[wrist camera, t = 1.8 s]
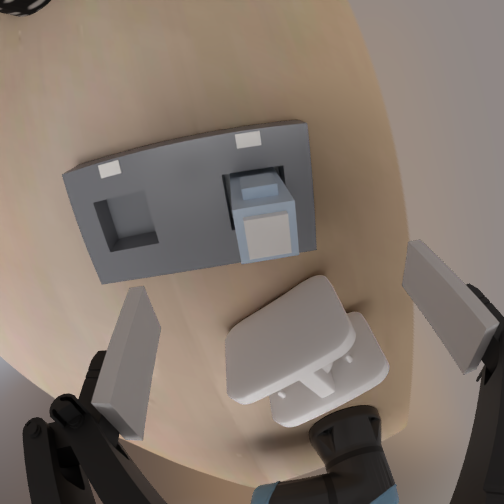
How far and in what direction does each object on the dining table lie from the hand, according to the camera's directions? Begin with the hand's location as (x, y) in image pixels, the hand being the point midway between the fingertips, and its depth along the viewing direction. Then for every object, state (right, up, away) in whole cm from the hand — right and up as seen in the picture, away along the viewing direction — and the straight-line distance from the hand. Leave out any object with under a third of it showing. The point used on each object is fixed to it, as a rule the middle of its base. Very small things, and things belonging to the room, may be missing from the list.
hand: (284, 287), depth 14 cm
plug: (-1, +8, +15) cm, 17 cm away
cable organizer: (+4, -7, +24) cm, 25 cm away
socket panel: (-7, +7, +15) cm, 18 cm away
